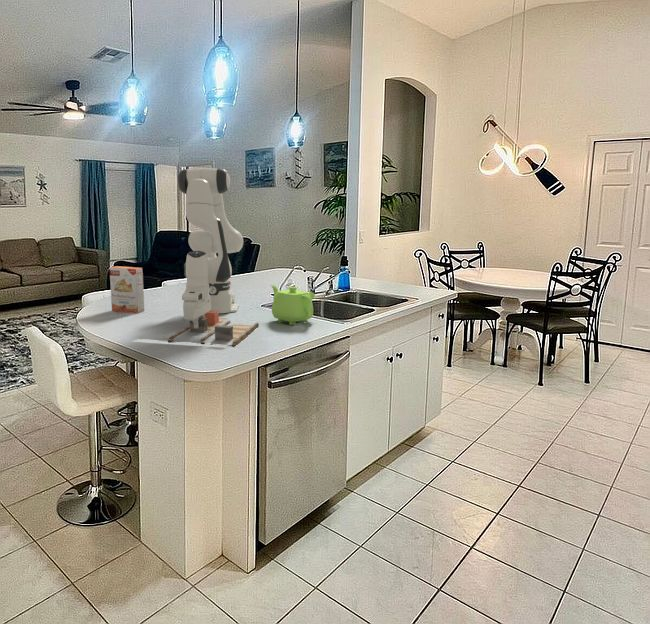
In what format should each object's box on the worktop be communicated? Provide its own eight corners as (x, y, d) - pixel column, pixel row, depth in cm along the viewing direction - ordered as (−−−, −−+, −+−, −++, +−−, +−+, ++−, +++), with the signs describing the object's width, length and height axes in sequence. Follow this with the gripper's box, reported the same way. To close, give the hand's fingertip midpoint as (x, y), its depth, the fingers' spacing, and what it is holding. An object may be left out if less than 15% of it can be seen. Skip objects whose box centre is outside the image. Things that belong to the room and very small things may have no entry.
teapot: (330, 321, 247) (331, 286, 244) (297, 328, 232) (297, 292, 228) (291, 312, 264) (292, 280, 260) (257, 319, 248) (257, 284, 245)
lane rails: (200, 323, 237) (200, 319, 236) (258, 327, 233) (258, 322, 233) (168, 342, 206) (168, 337, 205) (235, 347, 202) (235, 341, 202)
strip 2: (233, 327, 231) (233, 312, 230) (252, 328, 230) (251, 313, 229) (212, 342, 206) (211, 327, 205) (232, 344, 205) (232, 328, 204)
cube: (207, 321, 236) (207, 310, 234) (218, 322, 235) (218, 310, 234) (203, 324, 231) (203, 312, 230) (214, 324, 230) (214, 313, 229)
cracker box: (111, 311, 257) (108, 267, 253) (118, 308, 263) (116, 265, 258) (137, 313, 254) (135, 268, 249) (144, 310, 259) (142, 267, 255)
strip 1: (210, 320, 243) (210, 306, 242) (227, 321, 242) (227, 307, 241) (187, 334, 218) (187, 319, 217) (206, 335, 217) (206, 320, 216)
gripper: (200, 288, 226) (200, 320, 229) (179, 296, 207) (181, 332, 210) (214, 288, 226) (215, 321, 228) (195, 297, 206) (196, 333, 209)
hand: (198, 326), depth 219 cm, fingers closed on strip 1, 3 cm apart
